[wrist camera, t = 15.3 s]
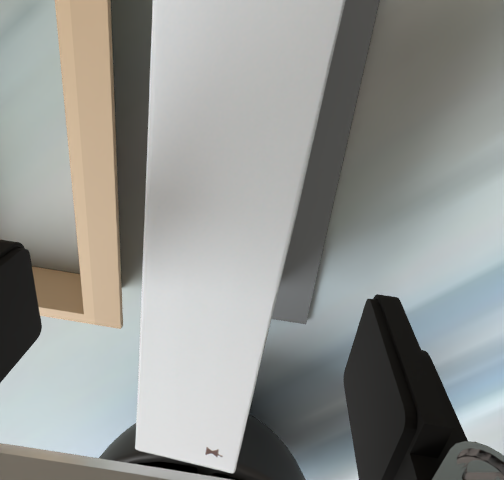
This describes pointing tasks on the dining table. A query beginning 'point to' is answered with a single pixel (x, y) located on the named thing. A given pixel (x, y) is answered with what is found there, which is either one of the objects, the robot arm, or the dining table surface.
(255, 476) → the coal bowl
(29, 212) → the dining table surface
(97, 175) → the wooden frame
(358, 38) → the mat
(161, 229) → the skincare box
